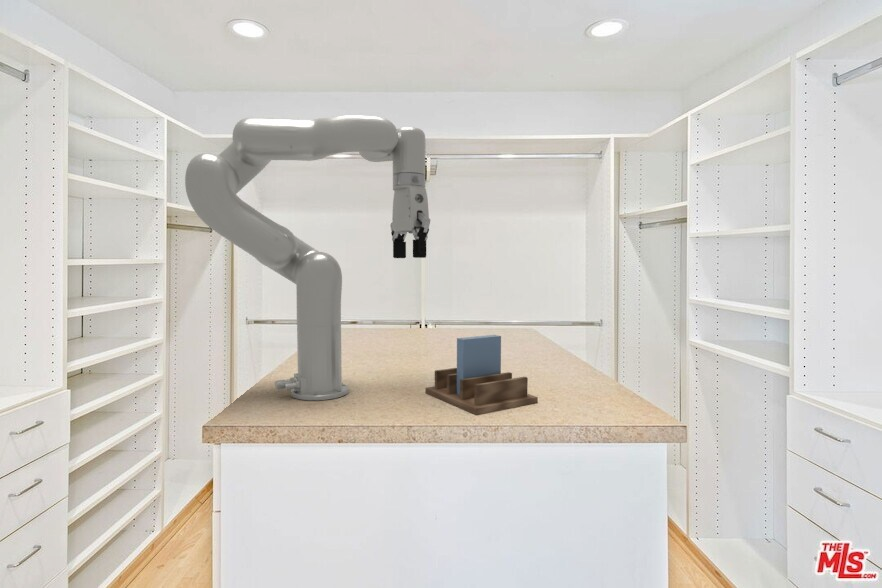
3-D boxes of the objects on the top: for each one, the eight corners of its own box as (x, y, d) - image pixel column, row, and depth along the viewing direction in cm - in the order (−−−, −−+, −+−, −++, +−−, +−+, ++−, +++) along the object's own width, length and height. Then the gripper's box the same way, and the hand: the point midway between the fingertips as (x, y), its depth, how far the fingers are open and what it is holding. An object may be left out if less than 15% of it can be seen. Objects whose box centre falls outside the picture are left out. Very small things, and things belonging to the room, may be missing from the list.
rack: (475, 414, 94) (475, 388, 94) (425, 393, 110) (425, 370, 110) (537, 402, 103) (537, 378, 102) (482, 383, 119) (482, 362, 118)
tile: (463, 396, 103) (463, 339, 102) (456, 394, 105) (456, 338, 104) (500, 390, 108) (501, 336, 107) (493, 388, 110) (494, 334, 109)
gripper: (442, 179, 108) (442, 257, 109) (405, 189, 123) (406, 258, 124) (412, 176, 104) (413, 257, 105) (378, 187, 119) (378, 258, 120)
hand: (409, 257), depth 115 cm, fingers open, 9 cm apart
